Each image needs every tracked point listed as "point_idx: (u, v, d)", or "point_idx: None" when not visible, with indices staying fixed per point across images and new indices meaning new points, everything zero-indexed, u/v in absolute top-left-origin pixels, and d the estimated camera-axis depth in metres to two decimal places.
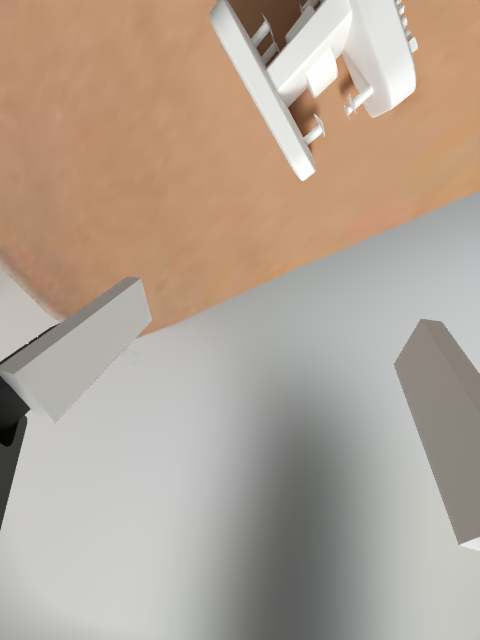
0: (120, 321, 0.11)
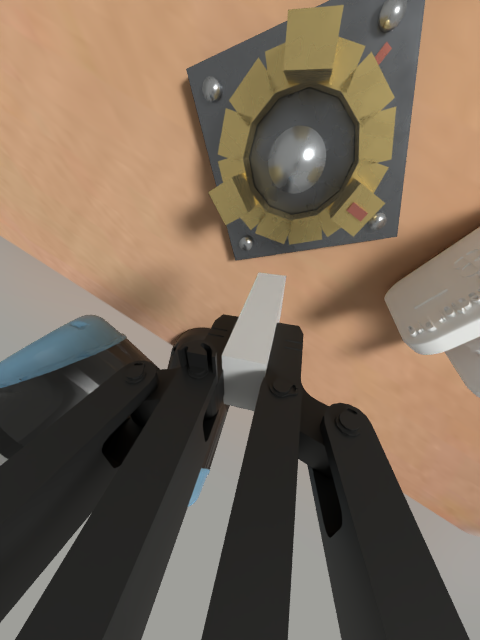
0: None
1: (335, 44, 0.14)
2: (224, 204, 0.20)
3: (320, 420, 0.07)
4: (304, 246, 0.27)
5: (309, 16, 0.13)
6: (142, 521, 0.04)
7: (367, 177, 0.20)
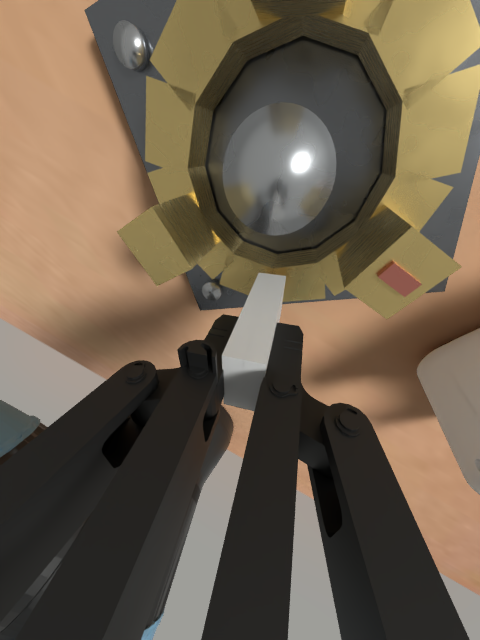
0: None
1: None
2: (148, 253, 0.11)
3: (320, 420, 0.07)
4: None
5: None
6: (142, 521, 0.04)
7: (409, 204, 0.11)
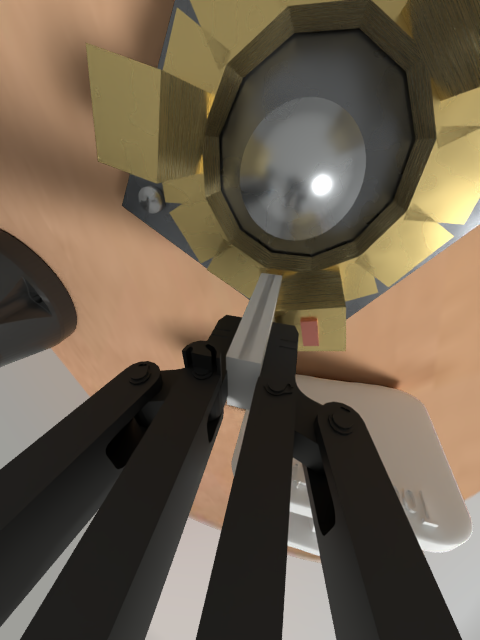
0: None
1: None
2: (114, 116, 0.08)
3: (314, 419, 0.07)
4: None
5: None
6: (146, 523, 0.04)
7: (350, 281, 0.13)
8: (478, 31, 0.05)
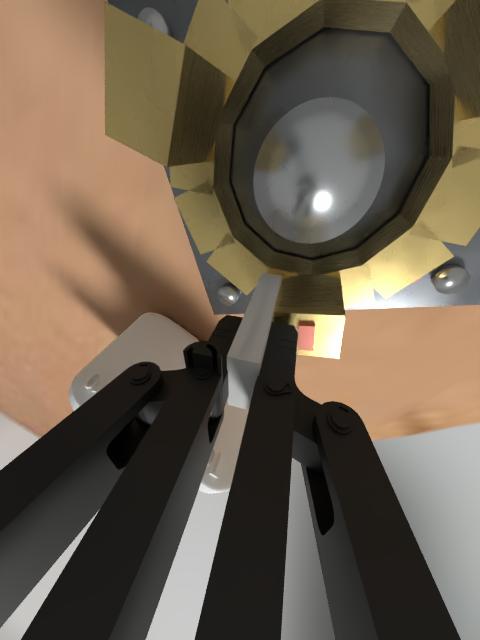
0: None
1: None
2: (128, 88, 0.07)
3: (313, 419, 0.07)
4: None
5: None
6: (147, 523, 0.04)
7: (349, 289, 0.13)
8: None
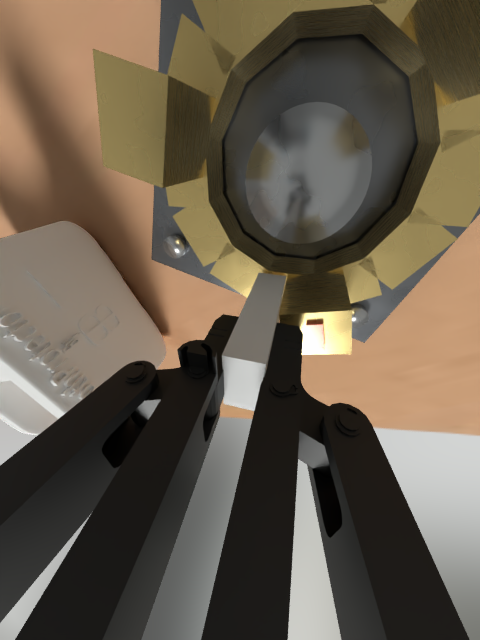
0: None
1: None
2: (120, 121, 0.08)
3: (320, 420, 0.07)
4: None
5: None
6: (142, 521, 0.04)
7: (354, 284, 0.13)
8: None
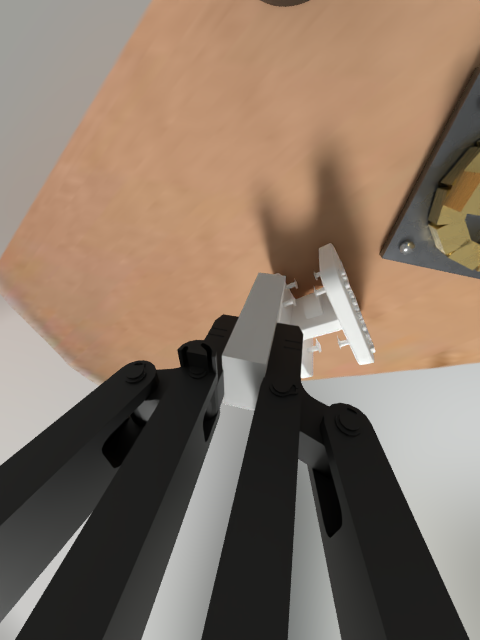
0: None
1: None
2: None
3: (320, 420, 0.07)
4: (428, 179, 0.26)
5: None
6: (142, 521, 0.04)
7: None
8: None
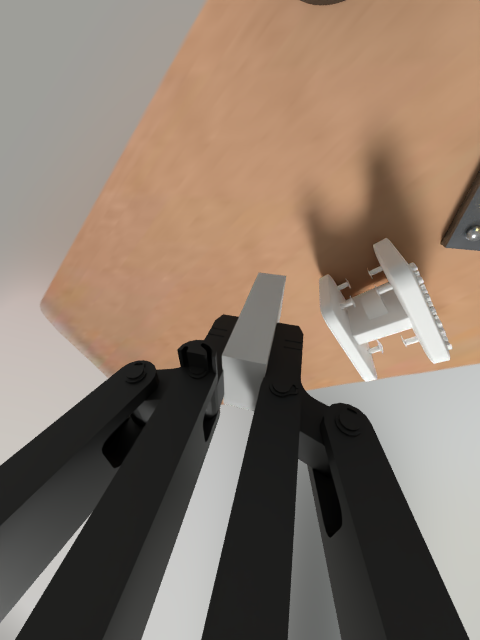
0: None
1: None
2: None
3: (320, 420, 0.07)
4: None
5: None
6: (142, 521, 0.04)
7: None
8: None
